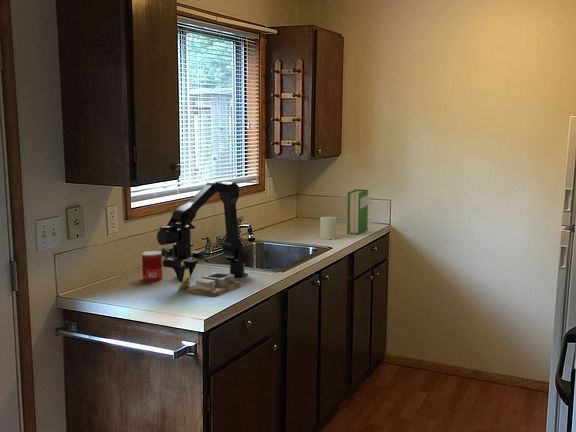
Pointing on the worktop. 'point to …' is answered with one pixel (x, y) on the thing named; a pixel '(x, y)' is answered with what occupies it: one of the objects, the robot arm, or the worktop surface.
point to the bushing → (185, 279)
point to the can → (328, 227)
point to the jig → (214, 284)
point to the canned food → (152, 265)
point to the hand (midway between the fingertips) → (184, 280)
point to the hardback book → (357, 211)
